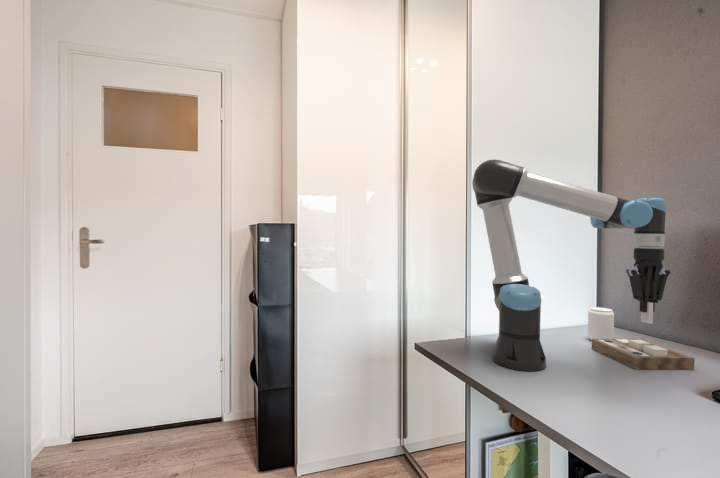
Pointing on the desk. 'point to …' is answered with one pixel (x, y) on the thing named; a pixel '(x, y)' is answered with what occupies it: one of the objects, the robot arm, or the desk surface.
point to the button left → (622, 341)
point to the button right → (655, 351)
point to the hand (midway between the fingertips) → (646, 322)
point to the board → (642, 356)
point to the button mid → (637, 344)
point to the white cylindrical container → (600, 323)
